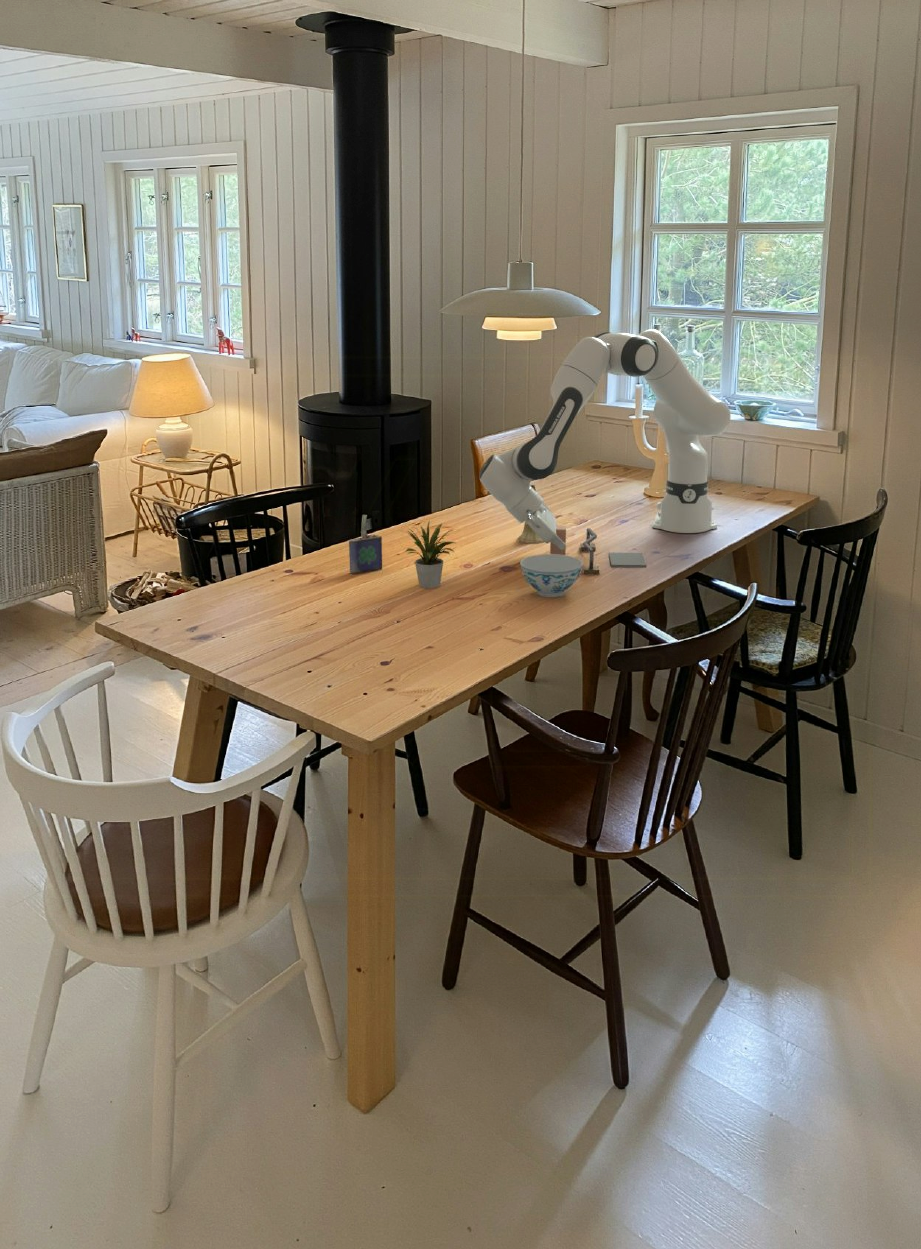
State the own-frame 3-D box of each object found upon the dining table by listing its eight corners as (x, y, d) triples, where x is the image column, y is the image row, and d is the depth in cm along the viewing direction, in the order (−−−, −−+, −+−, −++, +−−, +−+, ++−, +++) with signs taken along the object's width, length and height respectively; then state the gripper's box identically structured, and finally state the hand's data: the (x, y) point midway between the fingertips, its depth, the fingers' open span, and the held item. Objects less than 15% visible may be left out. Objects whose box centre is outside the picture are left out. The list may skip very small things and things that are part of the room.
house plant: (409, 598, 264) (407, 532, 259) (389, 582, 276) (387, 519, 271) (463, 590, 270) (462, 525, 264) (441, 575, 282) (440, 513, 276)
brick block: (550, 558, 296) (550, 525, 293) (565, 558, 296) (565, 525, 293) (550, 562, 292) (550, 529, 289) (565, 562, 292) (565, 529, 289)
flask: (352, 575, 283) (350, 534, 279) (347, 572, 285) (345, 532, 282) (384, 569, 287) (383, 530, 284) (379, 567, 290) (378, 527, 286)
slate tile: (608, 554, 299) (609, 552, 299) (642, 554, 298) (642, 552, 298) (611, 566, 287) (611, 564, 287) (646, 567, 287) (646, 565, 287)
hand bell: (544, 544, 310) (545, 488, 304) (515, 543, 311) (516, 487, 306) (548, 536, 317) (549, 482, 312) (520, 535, 319) (520, 481, 314)
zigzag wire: (580, 547, 306) (581, 526, 304) (594, 547, 306) (595, 526, 304) (583, 574, 281) (584, 551, 279) (599, 574, 281) (600, 551, 279)
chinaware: (587, 601, 260) (587, 570, 258) (524, 603, 259) (524, 572, 257) (575, 582, 275) (576, 553, 272) (516, 584, 273) (516, 555, 271)
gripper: (535, 507, 279) (573, 545, 282) (536, 490, 298) (571, 525, 301) (518, 524, 281) (555, 561, 284) (519, 506, 300) (555, 541, 303)
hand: (564, 542), depth 292 cm, fingers open, 8 cm apart
